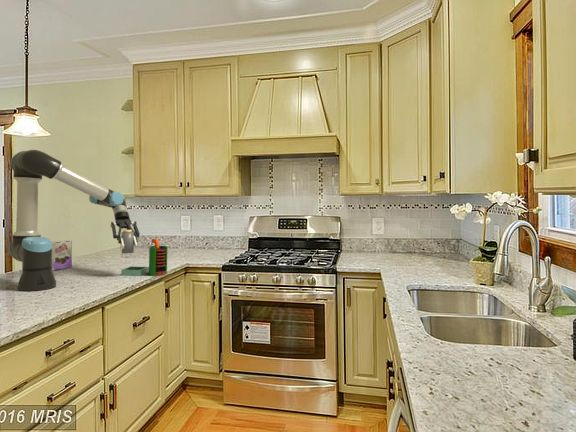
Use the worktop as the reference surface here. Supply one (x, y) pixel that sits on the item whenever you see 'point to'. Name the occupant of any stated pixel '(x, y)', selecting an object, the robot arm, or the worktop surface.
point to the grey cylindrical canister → (128, 241)
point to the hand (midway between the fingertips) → (129, 246)
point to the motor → (157, 259)
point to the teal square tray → (135, 271)
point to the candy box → (61, 255)
